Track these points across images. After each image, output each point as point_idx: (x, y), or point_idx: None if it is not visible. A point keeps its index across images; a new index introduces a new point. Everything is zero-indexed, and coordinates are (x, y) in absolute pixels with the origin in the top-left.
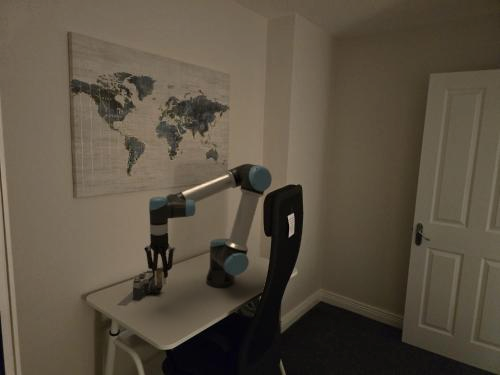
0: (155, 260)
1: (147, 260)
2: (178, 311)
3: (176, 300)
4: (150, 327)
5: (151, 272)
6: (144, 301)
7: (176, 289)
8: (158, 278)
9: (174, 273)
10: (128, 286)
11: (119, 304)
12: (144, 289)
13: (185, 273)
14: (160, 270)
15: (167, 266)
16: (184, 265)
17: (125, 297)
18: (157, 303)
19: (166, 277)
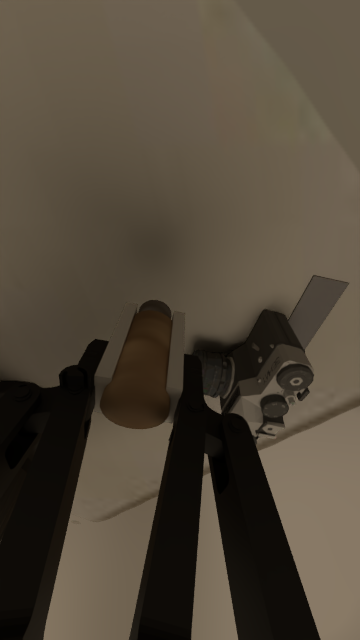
0: (162, 523)
1: (279, 525)
2: (82, 228)
3: (121, 311)
4: (167, 41)
5: None
6: (240, 305)
7: None
8: (152, 334)
9: None
10: None
11: (341, 282)
12: (250, 358)
13: (145, 444)
14: (119, 388)
15: (17, 424)
16: (160, 472)
17: (316, 331)
18: (187, 291)
19: (92, 342)
